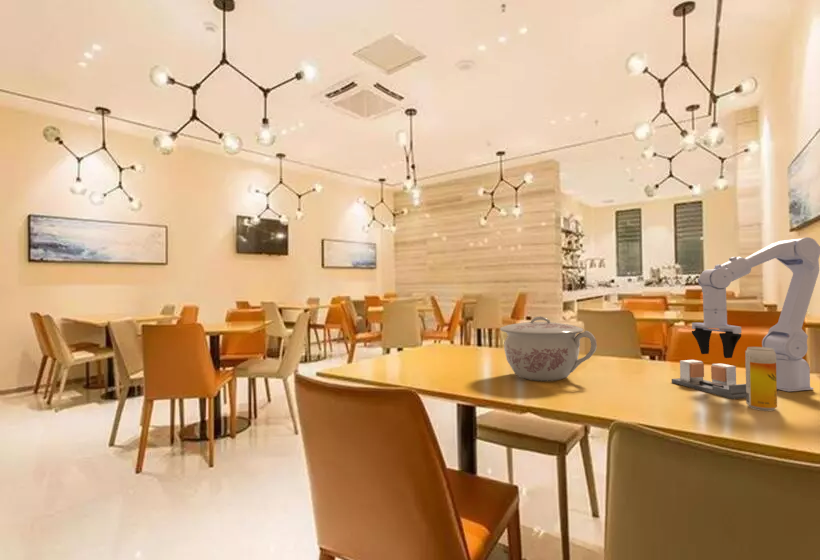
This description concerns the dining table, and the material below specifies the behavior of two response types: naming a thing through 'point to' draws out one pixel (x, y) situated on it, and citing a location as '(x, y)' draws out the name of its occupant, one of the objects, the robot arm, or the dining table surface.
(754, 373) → the beer can
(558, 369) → the chamber pot
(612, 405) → the dining table surface
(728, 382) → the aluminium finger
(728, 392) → the rail
